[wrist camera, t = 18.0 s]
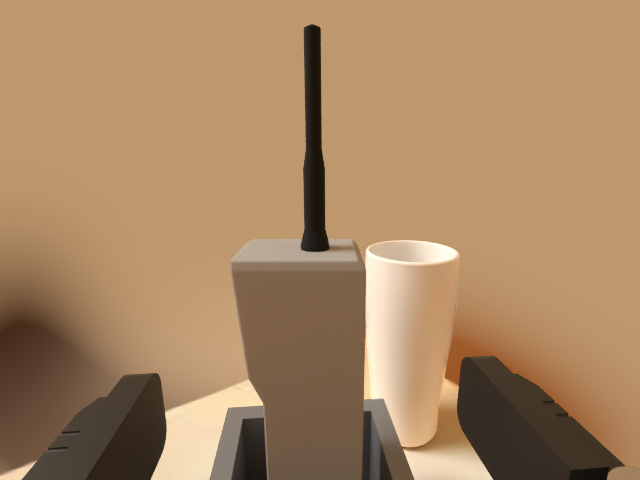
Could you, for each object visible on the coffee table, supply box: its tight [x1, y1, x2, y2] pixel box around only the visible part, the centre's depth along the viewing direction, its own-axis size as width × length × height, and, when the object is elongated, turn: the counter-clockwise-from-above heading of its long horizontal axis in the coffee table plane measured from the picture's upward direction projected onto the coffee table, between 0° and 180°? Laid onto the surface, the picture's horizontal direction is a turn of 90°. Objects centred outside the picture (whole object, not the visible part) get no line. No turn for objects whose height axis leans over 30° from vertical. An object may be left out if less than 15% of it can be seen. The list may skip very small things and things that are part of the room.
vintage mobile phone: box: [230, 24, 366, 480], centre depth 15 cm, size 4×5×25 cm
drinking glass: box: [365, 240, 460, 447], centre depth 27 cm, size 7×7×15 cm
